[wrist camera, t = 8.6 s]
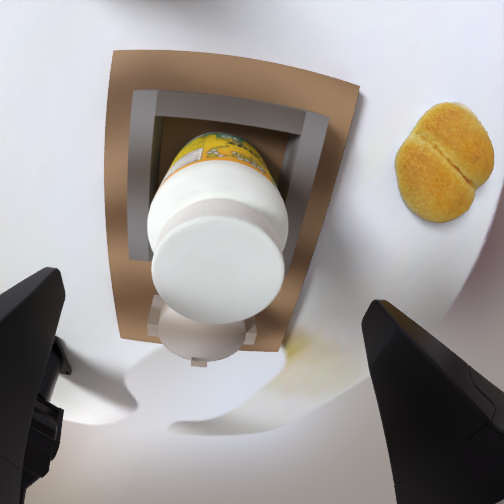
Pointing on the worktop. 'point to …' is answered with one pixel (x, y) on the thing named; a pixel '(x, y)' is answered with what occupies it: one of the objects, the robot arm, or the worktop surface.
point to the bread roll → (444, 162)
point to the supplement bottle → (218, 231)
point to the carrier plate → (183, 131)
